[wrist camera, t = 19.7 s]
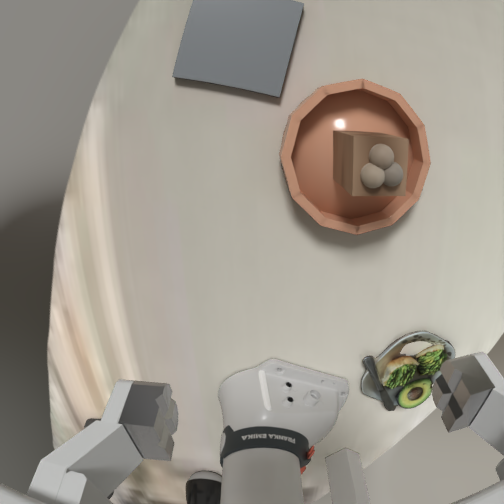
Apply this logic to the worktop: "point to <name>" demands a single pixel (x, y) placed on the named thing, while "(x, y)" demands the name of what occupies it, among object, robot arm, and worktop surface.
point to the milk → (346, 478)
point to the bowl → (321, 153)
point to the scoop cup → (370, 163)
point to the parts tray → (239, 43)
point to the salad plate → (405, 371)
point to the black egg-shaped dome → (204, 488)
